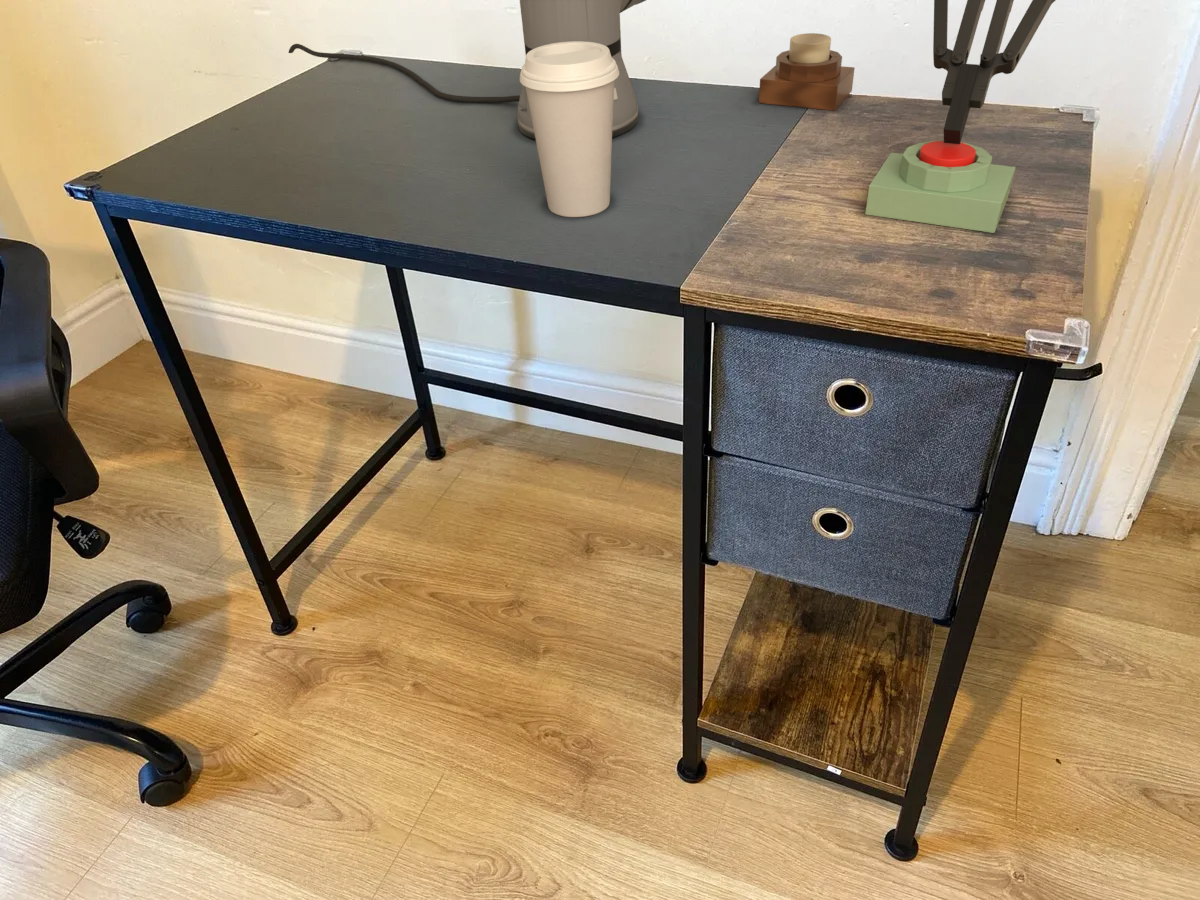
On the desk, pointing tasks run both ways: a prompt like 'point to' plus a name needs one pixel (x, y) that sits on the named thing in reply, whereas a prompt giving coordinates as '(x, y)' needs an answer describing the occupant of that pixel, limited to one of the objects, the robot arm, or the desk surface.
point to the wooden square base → (807, 83)
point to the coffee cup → (572, 123)
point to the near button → (947, 154)
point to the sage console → (941, 191)
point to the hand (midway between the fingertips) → (951, 136)
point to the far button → (809, 48)
